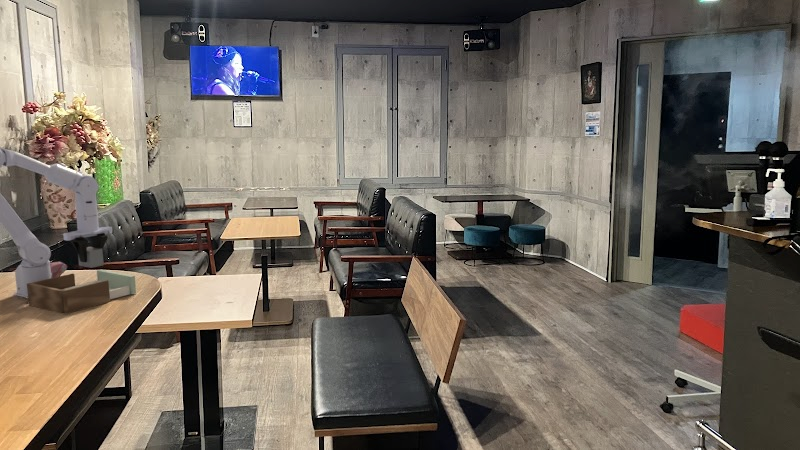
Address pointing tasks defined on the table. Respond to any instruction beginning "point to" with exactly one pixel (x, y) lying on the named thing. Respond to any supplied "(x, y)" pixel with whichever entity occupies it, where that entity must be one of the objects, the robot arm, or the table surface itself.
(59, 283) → the dock housing
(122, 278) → the tray
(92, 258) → the grey upright block
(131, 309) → the table surface
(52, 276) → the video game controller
